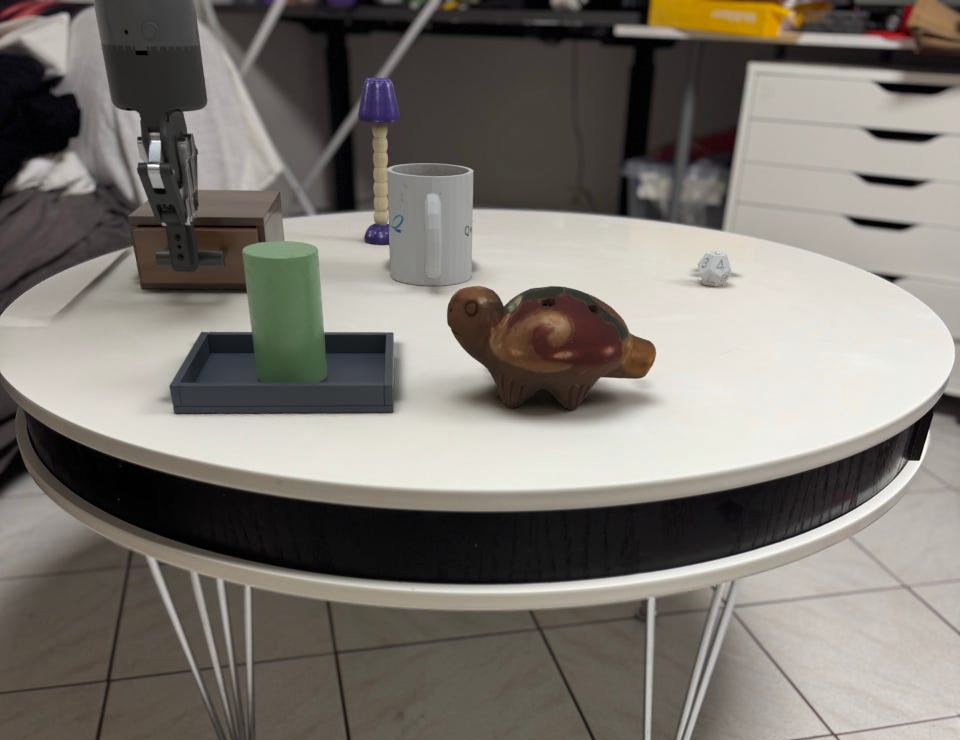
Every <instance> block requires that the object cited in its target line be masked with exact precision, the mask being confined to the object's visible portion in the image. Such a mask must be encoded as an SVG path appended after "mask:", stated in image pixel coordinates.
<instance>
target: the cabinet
mask: <svg viewBox="0 0 960 740" xmlns="http://www.w3.org/2000/svg"><path fill="white" fill-rule="evenodd" d="M281 197H282V196H281V191H280V190H253V189H252V190H250V189H249V190H247V189H246V190H245V189H244V190H242V189H237V190H236V189H198V202H199V206H198V211H195V212H196V221H195V223H192V224H194V226H256V228H257V229H258V235H259V243H262V242H271V241H286V239H285V231H284V230H285V229H284V219H283V209H282V200H281V199H282V198H281ZM127 220H128V225H129V230H130V236H131V241H132V247H133V252H134V257H135V263H136V269H137V275H138V279H139V284H140V288H141V290H247V288H246V283H143V282H142V278H141V272H140V267H139V261H138V256H137V250H136V245H135V239H134V234H133V229H134V228H135V227H147V226H148V225H162V224H161V223H157V222H156V219H155V217H154V214H153V211H152V209H151V206H150V203H149V201H148V199H147V200H146V201H145V202H143V203H142V204H141V205H139V206H138V207H137V208H136V209H135V210H134V211H132V212H131V213H130V214H129V215H127Z"/></svg>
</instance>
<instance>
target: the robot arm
mask: <svg viewBox="0 0 960 740" xmlns="http://www.w3.org/2000/svg"><path fill="white" fill-rule="evenodd" d="M93 8H94V12H95V18H96V23H97V29H98V34H99V39H100V40H99V41H100V46H101V51H102V58H103V63H104V67H105V73H106V78H107V83H108V84H107V85H108V89H109V94H110V100H111V103H112V104H113V106H114V107H115V108H116V109H119V110H122V111H125V112H126V111H127V112H136V113H137V114H139V118H140V120H139V123H140V135H138V136H137V137H136V144H137V145H136V146H137V150H138V155H139V159H140V160H141V161H142V162H137V167H136V171H137V175H138V177H139V180H140V182H141V184H142V188H143V190H144V193H145V195H146V199H147V200H148V201H149V203H150V206H151V209H152V211H153V214H154V217H155V219H156V222H157V223H161V224H162V226H166V227H165V229H166V235H167V241H168V247H169V253H170V259H171V266H172V268H173V270H175V271H177V272H194V271H195V270H196V269H197V268H198V266H199V264H200V262H199V255H198V248H197V242H196V235H195V228H194V224H192V223H195V221H196V212H195V211H198V206H199V202H198V190H199V183H198V178H199V177H198V155H199V150H198V148H197V145H196V141H195V136H194V133H192V132H188V127H187V123H186V119H185V112H195V111H199V110H202V109H205V108H206V106H207V105H208V94H207V86H206V79H205V71H204V63H203V56H202V49H201V48H202V47H201V41H200V33H199V26H198V18H197V11H196V4H195V0H93Z"/></svg>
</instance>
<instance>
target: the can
mask: <svg viewBox="0 0 960 740" xmlns="http://www.w3.org/2000/svg"><path fill="white" fill-rule="evenodd" d="M242 255H243V263H244V272H245V280H246V288H247V289H246V296H247V303H248V304H247V305H248V312H249V313H248V314H249V320H250V328H251V330H250V331H251V332H252V338H253V346H254V354H255V363H256V371H257V378H258V380H259V381H260V382H262V383H278V382H322V381H323V380H324V379H326V377H327V362H326V349H325V336H324V332H325V324H324V309H323V297H322V284H321V269H320V259H319V258H320V257H319V249H318V247H317V246H316V245H313V244H311V243H307V242H302V241H293V240H285V241H271V242H262V243H256V244H252V245H249V246H246V247H245V248H243V250H242Z"/></svg>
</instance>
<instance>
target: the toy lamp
mask: <svg viewBox="0 0 960 740" xmlns="http://www.w3.org/2000/svg"><path fill="white" fill-rule="evenodd" d="M363 82H364V83H363V86H362V92H361V97H360V101H359V106H358V112H357V119H358V120H359V121H360V122H363V123H369V124H372V125H371V132H372V135H373V138H372V149H373V151H374V152H373V155H372V163H373V166H374V168H373V172H372V174H373V180H374V182H373V186H372V187H373V195H374V198H373V208H374V212H373V221H374V223H372V224H371V225H369V226H368V227H367V229H366V230H365V233H364V237H363V239H364V241H365V242H366V243H370V244H374V245H389V217H388V185H387V169H388V167H387V166H388V162H389V155H388V153H387V151H388V147H389V145H388V144H389V143H388V139H387V136H388V124H397V123H399V122H400V120H401V116H400V115H401V114H400V111H399V106H398V105H399V104H398V101H397V96H396V93H395V88H394V84H393V82H392V80H391V79H390V78H387V77H386V78H385V77H367V78H365V80H364V81H363Z"/></svg>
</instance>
